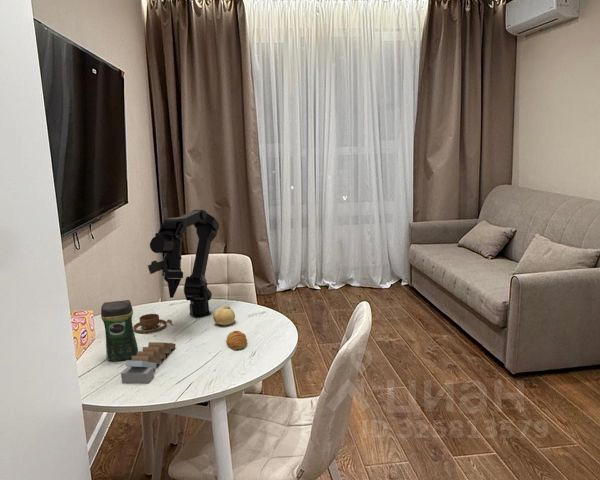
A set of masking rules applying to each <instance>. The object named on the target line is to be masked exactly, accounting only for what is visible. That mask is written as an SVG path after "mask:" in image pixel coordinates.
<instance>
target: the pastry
mask: <svg viewBox="0 0 600 480" xmlns="http://www.w3.org/2000/svg"><path fill="white" fill-rule="evenodd" d="M247 342H248V339H247V337H246V334H245V332H242V331H239V330H233V331H231V332H229V333H228V335H227V336H226V340H225V343H226V345H227V347H229V348H230V349H231V350H233V351H236V350H242V349H244V348H245V347H246V345H247Z"/></svg>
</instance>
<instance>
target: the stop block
mask: <svg viewBox="0 0 600 480" xmlns="http://www.w3.org/2000/svg"><path fill="white" fill-rule="evenodd" d="M120 378H121V383H122V384H149V383H150V382H151V381H152V380H153V379H154V378H155V373H154V369H153V368H149V367H127V366H126V367H125V369H124V370H123V371H121V373H120Z"/></svg>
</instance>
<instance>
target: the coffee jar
mask: <svg viewBox="0 0 600 480" xmlns="http://www.w3.org/2000/svg"><path fill="white" fill-rule="evenodd" d="M133 314H134V309H133V306H132V302H131V300H130V299H125V300H114V301H107V302H106V301H105V302H103V303H102V305H101V308H100V318H101V321H102V322H103V325H104V332H105V351H106V358H107V360H108V361H110V362H115V361H123V360H124V361H126V360H130V359H132V356H137V351H139V347H138V343H137V339H136V335H135V331H134V329H133V326H134V325H133Z"/></svg>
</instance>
